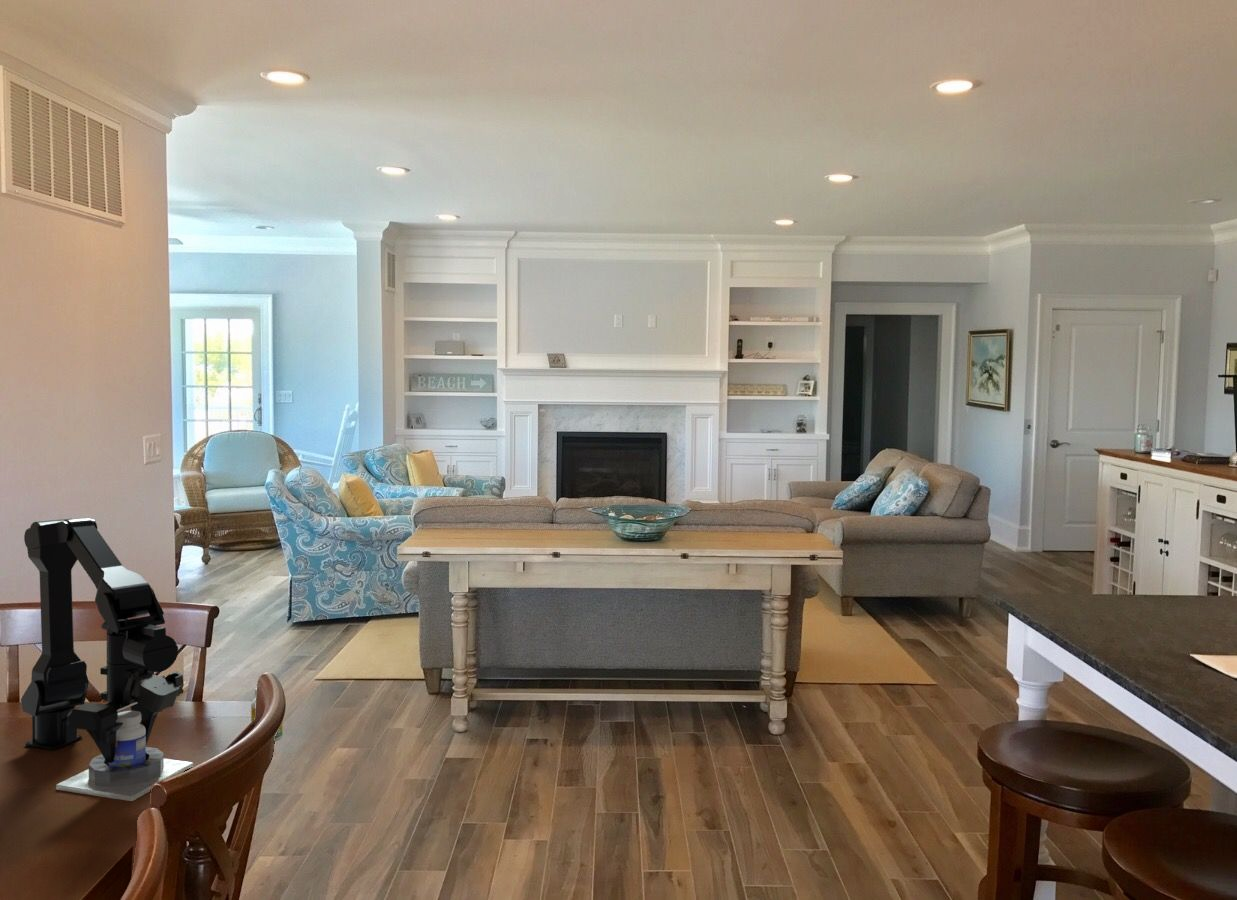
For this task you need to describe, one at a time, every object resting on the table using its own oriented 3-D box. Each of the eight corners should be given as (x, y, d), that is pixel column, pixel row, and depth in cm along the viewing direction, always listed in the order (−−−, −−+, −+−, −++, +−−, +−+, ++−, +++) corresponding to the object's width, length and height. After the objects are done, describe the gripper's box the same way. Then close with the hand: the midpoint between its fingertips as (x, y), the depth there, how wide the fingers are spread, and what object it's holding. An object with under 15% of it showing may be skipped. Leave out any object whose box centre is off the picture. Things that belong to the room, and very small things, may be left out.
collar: (56, 789, 151) (56, 769, 151) (122, 757, 165) (122, 738, 164) (132, 801, 148) (132, 781, 148) (192, 767, 161) (192, 748, 161)
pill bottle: (101, 779, 154) (101, 719, 153) (119, 765, 159) (119, 708, 158) (134, 780, 154) (134, 720, 153) (152, 767, 159) (152, 709, 158)
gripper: (126, 681, 144) (126, 783, 145) (207, 649, 162) (207, 739, 163) (64, 674, 147) (65, 773, 148) (151, 643, 165) (151, 732, 166)
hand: (126, 753), depth 156 cm, fingers open, 7 cm apart
